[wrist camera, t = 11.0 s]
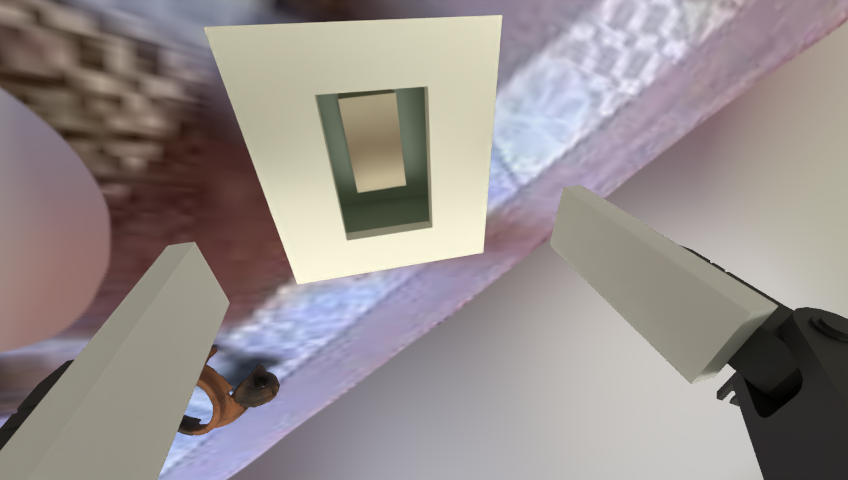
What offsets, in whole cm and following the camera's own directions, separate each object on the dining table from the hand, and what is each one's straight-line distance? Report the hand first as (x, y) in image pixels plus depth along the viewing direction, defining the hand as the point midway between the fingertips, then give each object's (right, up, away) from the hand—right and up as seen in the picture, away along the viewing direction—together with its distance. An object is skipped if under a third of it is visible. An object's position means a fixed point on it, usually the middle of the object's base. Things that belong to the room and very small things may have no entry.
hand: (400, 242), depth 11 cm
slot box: (-4, +10, +15) cm, 19 cm away
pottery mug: (-23, -16, +27) cm, 39 cm away
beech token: (-4, +9, +15) cm, 18 cm away
